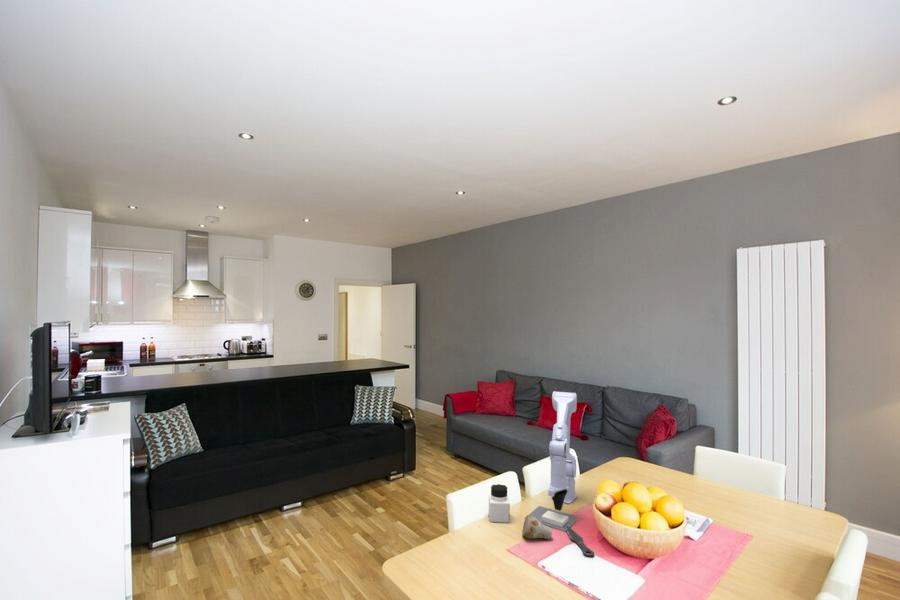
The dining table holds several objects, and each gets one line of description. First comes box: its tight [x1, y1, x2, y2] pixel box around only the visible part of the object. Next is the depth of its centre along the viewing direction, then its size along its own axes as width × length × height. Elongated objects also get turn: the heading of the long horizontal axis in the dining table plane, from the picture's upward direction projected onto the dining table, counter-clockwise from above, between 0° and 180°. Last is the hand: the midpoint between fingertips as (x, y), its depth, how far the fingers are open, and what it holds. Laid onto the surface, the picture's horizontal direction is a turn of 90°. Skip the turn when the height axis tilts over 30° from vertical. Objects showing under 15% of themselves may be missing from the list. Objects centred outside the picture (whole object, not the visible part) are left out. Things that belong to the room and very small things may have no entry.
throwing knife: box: [565, 525, 595, 558], centre depth 142 cm, size 4×20×1 cm, turn 8°
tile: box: [542, 511, 569, 527], centre depth 155 cm, size 2×8×6 cm
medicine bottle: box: [488, 483, 511, 524], centre depth 158 cm, size 7×7×12 cm
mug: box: [521, 514, 553, 540], centre depth 144 cm, size 8×10×10 cm
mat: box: [524, 505, 579, 533], centre depth 158 cm, size 13×16×1 cm
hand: (558, 509), depth 158 cm, fingers closed
